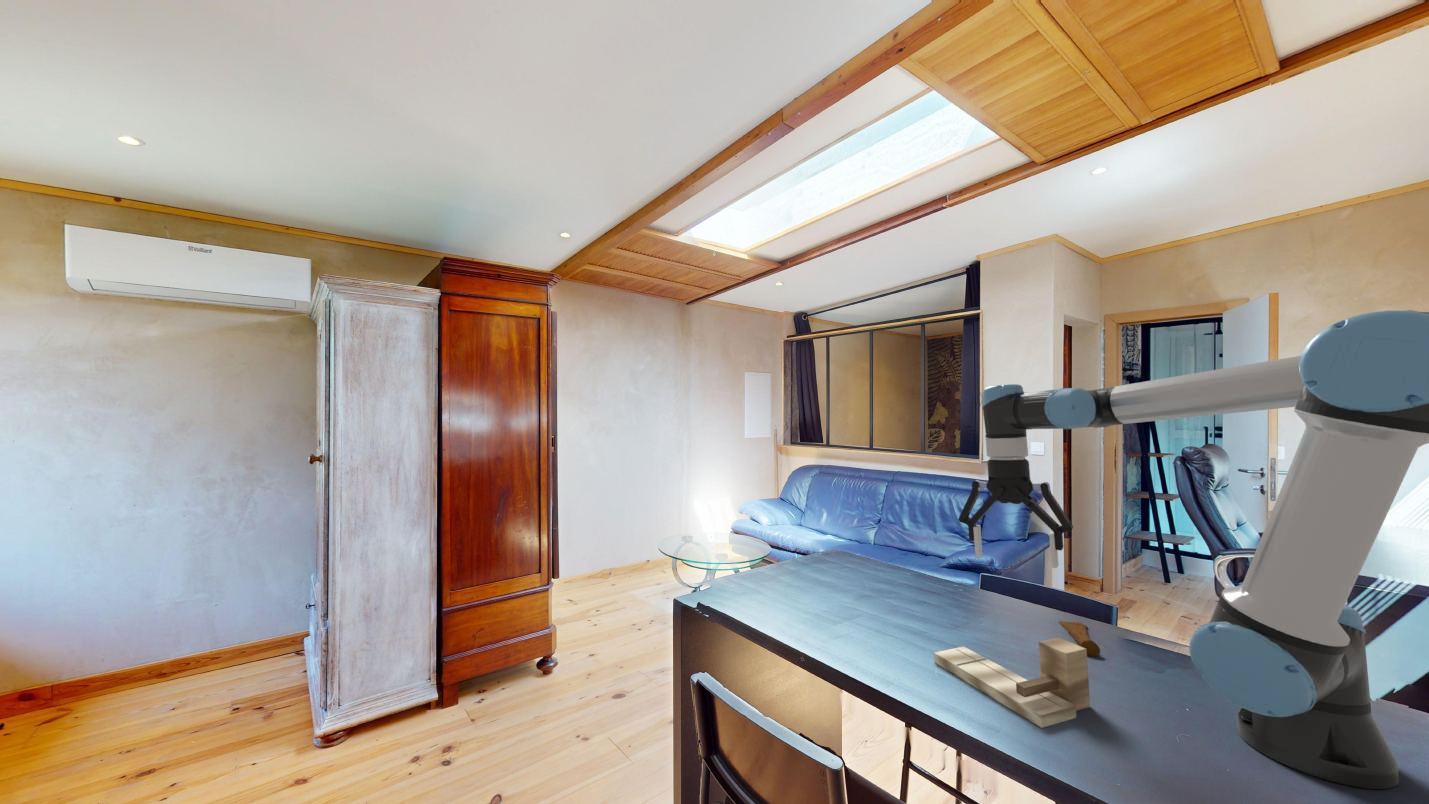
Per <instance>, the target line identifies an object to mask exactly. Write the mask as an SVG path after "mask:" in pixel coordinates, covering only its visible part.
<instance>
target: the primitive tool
mask: <svg viewBox="0 0 1429 804" xmlns="http://www.w3.org/2000/svg"><path fill="white" fill-rule="evenodd" d="M1058 624H1059V625H1060V626H1061V627H1062V628H1064V630H1066V631H1067V633H1068V634H1070V636H1071V637H1072V638H1073V639H1074V640H1075V642H1077V643H1078V646H1081V647H1083V648H1085V649H1086V651H1087V657H1098V655H1100V653H1101V649H1100V646H1099V645H1098V644H1097V643H1096V642H1095V641H1094V640H1092V639H1090V636H1089V633H1088V632H1087V630H1088V629H1089V627H1088V626H1087V625H1086V624H1084V623H1083V622H1079V621H1076V622H1075V621H1074V622H1069V621H1061V620H1060V621H1058Z"/></svg>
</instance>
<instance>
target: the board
mask: <svg viewBox="0 0 1429 804" xmlns="http://www.w3.org/2000/svg"><path fill="white" fill-rule="evenodd" d="M933 656H934V658H933V660H934V661H933V662H934V663H935V664H937V665H939V666H940V667H942V669H945V670H946V671H947V672H950V673H951V674H953V675H954V676H956V677H958V678H960V679H962V680H963V681H964V682H966V683H968V684H969V685H971V686H972V687H973V688H976V689H977V690H979V691H980V692H982V693H983V694H985V695H987V696H989V697H990V698H992V699H994V700H996V701H997V702H998V703H1000V704H1002V705H1004V706H1005V707H1007V708H1008V709H1010V710H1012V711H1013V712H1015V713H1016V714H1018V715H1020V716H1021V717H1023V718H1025V719H1026V720H1027V721H1030V722H1031V723H1033V724H1035V725H1036V726H1038V727H1039V728H1041V729H1042V728H1046V727H1050V726H1054V725H1057V724H1059V723H1060V724H1061V723H1063V722H1067V721H1071V720H1074V719H1077V711H1076V706H1075V705H1073V704H1071V703H1070V702H1068V701H1066V700H1064V699H1062V698H1060V697H1058V696H1056V695H1055V694H1053V693H1051V692H1049V691H1048V692H1044V693H1040V694H1037V695H1033V696H1029V697H1023V696H1021V695H1020V694H1018V693H1017V691H1016V683H1020V682H1024V681H1028V680H1029V679H1026V678H1025V677H1023V676H1020V675H1019V674H1016V673H1015V672H1013V671H1011V670H1009V669H1008V668H1005V667H1004V666H1001V665H999V664H998V663H996V662H994V661H992V660H990V659H988V658H986V657H984V656H983V655H981V654H979V653H977V652H975V651H973V650H971V649H970V648H968V647H966V646H959V647H954V648H949V649H945V650H940V651H935V652H933Z"/></svg>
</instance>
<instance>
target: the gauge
mask: <svg viewBox="0 0 1429 804" xmlns="http://www.w3.org/2000/svg"><path fill="white" fill-rule="evenodd" d="M1038 646H1039V647H1038V650H1039V662H1040V663H1039V664H1040V666H1039V667H1040V677H1036V678H1033V679H1027V680H1028V681H1024V682H1020V683H1016V691H1017V693H1018V694H1020V695H1021V696H1023V697H1029V696H1033V695H1037V694H1040V693H1044V692H1048V691H1049V692H1051V693H1053V694H1055V695H1056V696H1058V697H1060V698H1062V699H1064V700H1066V701H1068V702H1070V703H1071V704H1073V705H1075V706H1076V712H1078V711H1080V710H1084V709H1087V708H1090V707H1091V697H1090V684H1089V683H1090V681H1089V670H1088V666H1089V665H1088V655H1087V651H1086V649H1085V648H1083V647H1081V646H1079V644H1078V645H1077V644H1076V643H1073V642H1070V641H1068V640H1066V639H1063V638H1060V637H1053V638H1050V639H1045V640H1042V641H1038Z"/></svg>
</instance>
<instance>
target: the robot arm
mask: <svg viewBox="0 0 1429 804" xmlns="http://www.w3.org/2000/svg"><path fill="white" fill-rule="evenodd" d="M981 407H982V412H983V421H984V428H985V429H984V430H985V434H984V435H985V437H984V438H985V453H986V457H987V458H989V459H988V460H987V462H986V463H987V465H986V466H987V477H988V478H987V481H981V480H980V479H976V480H973V481H972V483H971V491H970V494H969V496H968V498H967V500H966V502H965V505H964V507H963V508H962V510H961V512H960V515H959V517H958V522H959V523H963V524H965V525H966V526H967V527H968V539H969V541H971V542H974V553H975V554H974V555H975V558H977V559H980V558H982V557H983V555H984V554H983V541H982V528H981V525H979V524H978V522H979V521H980V520H981V519H982V518H983V517H984V515H985V514H986V513H987V512H988V511H989V510H990V509H991V508H992V507H993V506H994V505H995V504H996V503H997V501H998V502H999V503H1001V504H1008V503H1010V504H1012V505H1013V504H1014V505H1019V504H1024V505H1025V506H1026V507H1028V508H1029V509H1030V510H1031V511H1032V512H1033V513H1034V514H1035V515H1036V517H1038V518H1039V520H1040V521H1042V522H1043V523H1044V524H1045V525H1046V526H1047V527H1048V528H1049V529H1050V530H1051V531H1050V532H1049V533H1048V535H1049V536H1048V537H1049V547H1050V548H1049V549H1050V560H1051V561H1050V562H1051V568H1052V569H1053V568H1054V569H1057V568H1058V567H1059V555H1058V551H1062V550H1063V549H1064V537H1063V533H1067V532H1072V530H1073V528H1074V525H1073V524H1072V522H1071V520H1070V519H1069V517H1068V516H1067V514H1066V513H1065V512H1064V510H1063V508H1062V507H1061V506H1060V504H1059V503H1058V501H1057V499H1056V498H1055V496H1053V495H1054V494H1053V493H1052V491H1051V487H1050V486H1051V485H1050V483H1049V482H1047V481H1044V482H1041V483H1033V482H1032V480H1031V472H1030V461H1029V460H1028V459H1026V457H1028V456H1029V450H1028V449H1029V448H1028V437H1027V430H1058V429H1059V430H1060V429H1061V430H1075V429H1077V428H1078V429H1081V428H1093V429H1094V428H1095V429H1097V428H1099V429H1101V428H1108V427H1111V426H1118V425H1121V426H1122V425H1128V424H1135V423H1136V424H1137V423H1138V424H1139V423H1146V422H1156V421H1157V422H1158V421H1167V420H1175V419H1176V420H1177V419H1178V420H1179V419H1187V418H1196V417H1198V418H1199V417H1206V416H1217V415H1226V414H1227V415H1229V414H1235V413H1236V414H1237V413H1246V412H1255V411H1264V410H1266V411H1267V410H1275V409H1284V408H1285V409H1286V408H1294V413H1295V414H1296V415H1297V416H1298V417H1299V418H1300V419H1301V421H1302V422H1303V423H1304V424H1305V430H1304V432H1303V434H1302V436H1301V438H1300V441H1299V442H1298V443H1299V444H1298V446H1297V449H1296V451H1295V453H1294V456H1293V458H1292V460H1291V463H1290V466H1289V468H1288V471H1287V474H1286V475H1285V478H1284V480H1283V483H1282V485H1281V488H1280V490H1279V493H1278V496H1277V498H1276V500H1275V503H1274V506H1273V508H1272V510H1271V512H1270V516H1269V517H1268V519H1267V523H1266V525H1265V528H1264V530H1263V531H1262V535H1261V538H1260V540H1259V542H1258V545H1257V547H1256V549H1255V553H1254V554H1253V558H1252V559H1251V562H1250V565H1249V566H1248V569H1247V571H1246V574H1245V576H1244V578H1243V582H1242V584H1239V585H1237V586H1230V587H1226V588H1224V589H1223V590H1222V591H1221V595H1220V596H1219V600H1218V602H1217V604H1216V606H1215V608H1214V612H1213V614H1212V616H1211V617H1210V621H1209V622H1208V623H1204V624H1202V625H1201V626H1199V627H1197V630H1195V631H1194V632H1193V634H1192V636H1190V637H1191V638H1190V640H1189V646H1188V647H1189V648H1188V649H1189V654H1190V658H1191V661H1192V663H1193V665H1194V667H1195V668H1196V669H1197V670H1198V672H1199V674H1200V675H1201V677H1202V679H1204V681H1205V682H1206V683H1207V684H1208V686H1210V687H1211V688H1212V689H1213V690H1214V691H1215V692H1217V693H1218V694H1219V695H1220V696H1222V697H1223V698H1225V699H1227V701H1229V702H1231V703H1233V704H1234V705H1236V706H1238V707H1239V709H1238V711H1237V714H1236V727H1237V733H1238V734H1239V736H1240V737H1241V738H1242V739H1243V741H1244V742H1245V743H1247V744H1248V745H1250V746H1251V747H1252V748H1254V749H1255V750H1257V751H1258V752H1260V753H1262V754H1264V755H1265V756H1267V757H1269V758H1270V759H1273V760H1274V761H1276V762H1279V763H1281V764H1283V765H1285V766H1287V767H1290V768H1293V769H1294V770H1297V771H1300V772H1302V773H1305V774H1308V775H1310V776H1314V777H1315V778H1316V777H1317V778H1320V779H1323V780H1327V781H1329V782H1333V783H1338V784H1341V785H1346V786H1351V787H1355V788H1362V789H1373V790H1374V789H1375V790H1386V789H1392V788H1395V787H1397V786H1398V785H1399V783H1400V776H1399V775H1400V774H1399V766H1398V763H1397V760H1396V758H1395V755H1393V753H1392V752H1393V751H1391V748H1390V747H1389V746H1388V743H1387V742H1386V740H1385V737H1384V736H1383V734H1382V732H1381V730H1380V728H1379V726H1378V725H1377V723H1376V721H1375V719H1374V717H1373V713H1372V705H1371V704H1372V703H1371V691H1370V683H1369V675H1368V674H1369V673H1368V672H1369V671H1368V661H1367V650H1366V641H1365V636H1366V633H1367V632H1366V631H1367V630H1366V629H1365V628H1364V625H1363V620H1362V616H1361V614H1360V613H1359V612H1358V611H1357V610H1356V609H1354V608H1353V607H1351V606H1349V605H1346V603H1347V601H1348V599H1349V597H1350V595H1351V593H1352V590H1353V588H1354V586H1355V584H1356V582H1357V579H1358V577H1359V575H1360V574H1361V571H1362V569H1363V566H1364V565H1365V562H1366V560H1367V558H1368V556H1369V553H1370V551H1372V548H1373V546H1374V543H1375V541H1376V540H1377V537H1378V535H1379V532H1380V530H1381V529H1382V527H1383V524H1384V522H1385V520H1386V517H1387V515H1388V514H1389V512H1390V511H1389V510H1390V509H1391V507H1392V504H1393V502H1394V500H1395V498H1396V496H1397V494H1398V492H1399V489H1400V487H1401V486H1402V483H1403V481H1404V479H1405V477H1406V475H1407V472H1408V470H1409V468H1410V466H1411V464H1412V462H1413V459H1414V458H1415V455H1416V454H1417V451H1418V449H1419V448H1421V447H1423V446H1424V445H1427V444H1429V312H1428V311H1418V310H1414V309H1413V310H1412V309H1406V310H1389V309H1388V310H1383V311H1382V310H1381V311H1373V312H1367V313H1361V314H1358V315H1355V316H1350V317H1348V318H1345V319H1342V320H1339V321H1338V322H1335V323H1333V324H1331V325H1329V326H1327V327H1326V328H1324V329H1322V331H1319V332H1318V333H1317V334H1316V335H1315V336H1314V337H1313V338H1312V339H1310V341H1309V342H1308V343H1307V344H1306V345H1305V347H1304V349H1303V350H1302V353H1301V355H1297V356H1292V357H1291V356H1289V357H1285V358H1280V359H1279V358H1278V359H1274V360H1273V359H1272V360H1268V361H1267V360H1266V361H1261V362H1255V363H1250V364H1249V363H1248V364H1243V365H1236V366H1231V367H1226V368H1225V367H1224V368H1219V369H1212V370H1206V371H1202V372H1195V373H1194V372H1193V373H1188V374H1181V375H1177V376H1176V375H1175V376H1170V377H1164V378H1157V379H1152V380H1146V381H1141V382H1134V383H1127V384H1122V385H1116V386H1109V387H1103V388H1098V389H1089V390H1086V389H1085V388H1081V387H1072V388H1071V387H1067V388H1065V387H1062V388H1058V389H1057V388H1056V389H1050V390H1041V391H1032V392H1025V391H1024V388H1023V386H1022V385H1021V384H1015V383H1014V384H1013V383H1012V384H1001V385H990V386H989V385H988V386H986V387H985V388H984V389H983V391H982V406H981ZM985 489H987V490H988V492H990V493H991V495H990V496H989V498H988V499H987V500H986V501H985V502H984V504H982V505H981V506H980V507H979V509H977V511H976V512H975V513H974V514H973V516H972V517H971V518H970V517H969V516H970V515H971V513H972V510H973V509H974V506H975V504H976V503H977V500H978V498H979V496H980V494H981V492H982V491H984V490H985ZM1034 490H1035V491H1037V493H1038V494H1040V495H1042V497H1043V499H1044V501H1045V503H1046V504H1047V505H1048V506H1049V508H1050V509H1051V511H1052V512H1053V514H1054V516H1055V517H1056V519H1057V520H1058V522H1059V523H1060V524H1061V525H1060V524H1059V523H1058V522H1057V521H1056V520H1055V519H1053V517H1051V516H1050V514H1048V513H1047V511H1045V510H1044V509H1043V508H1042V506H1040V505H1039V504H1038V503H1037V502H1036V500H1035V499H1034V498H1033V497H1032V496H1031V494H1032V492H1033V491H1034Z"/></svg>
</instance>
